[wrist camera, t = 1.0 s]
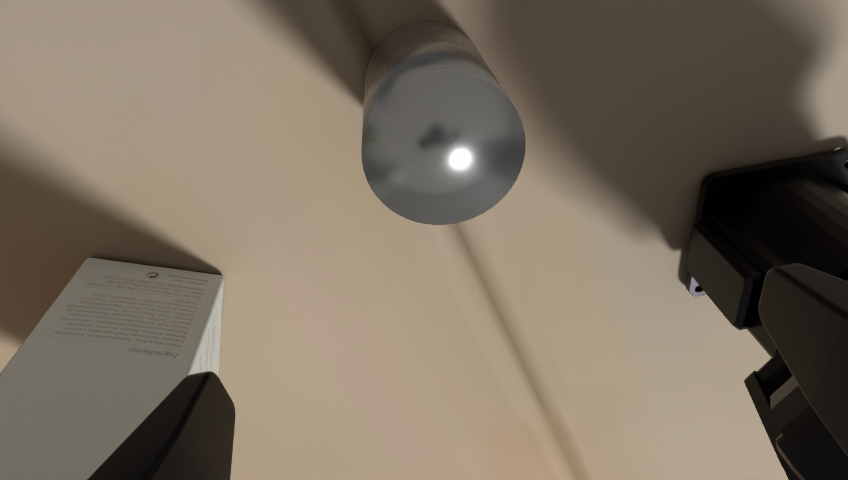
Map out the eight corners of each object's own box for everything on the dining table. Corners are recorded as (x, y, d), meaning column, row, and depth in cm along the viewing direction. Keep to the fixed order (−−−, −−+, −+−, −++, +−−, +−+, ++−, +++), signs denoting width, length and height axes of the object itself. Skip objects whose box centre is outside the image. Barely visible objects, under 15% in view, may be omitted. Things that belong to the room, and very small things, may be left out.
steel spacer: (479, 9, 18) (520, 57, 13) (490, 130, 20) (529, 210, 15) (352, 34, 18) (343, 90, 13) (379, 151, 20) (380, 236, 15)
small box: (88, 251, 22) (-104, 494, 13) (228, 272, 23) (139, 507, 14) (101, 381, 26) (-36, 632, 17) (220, 393, 27) (147, 634, 18)
